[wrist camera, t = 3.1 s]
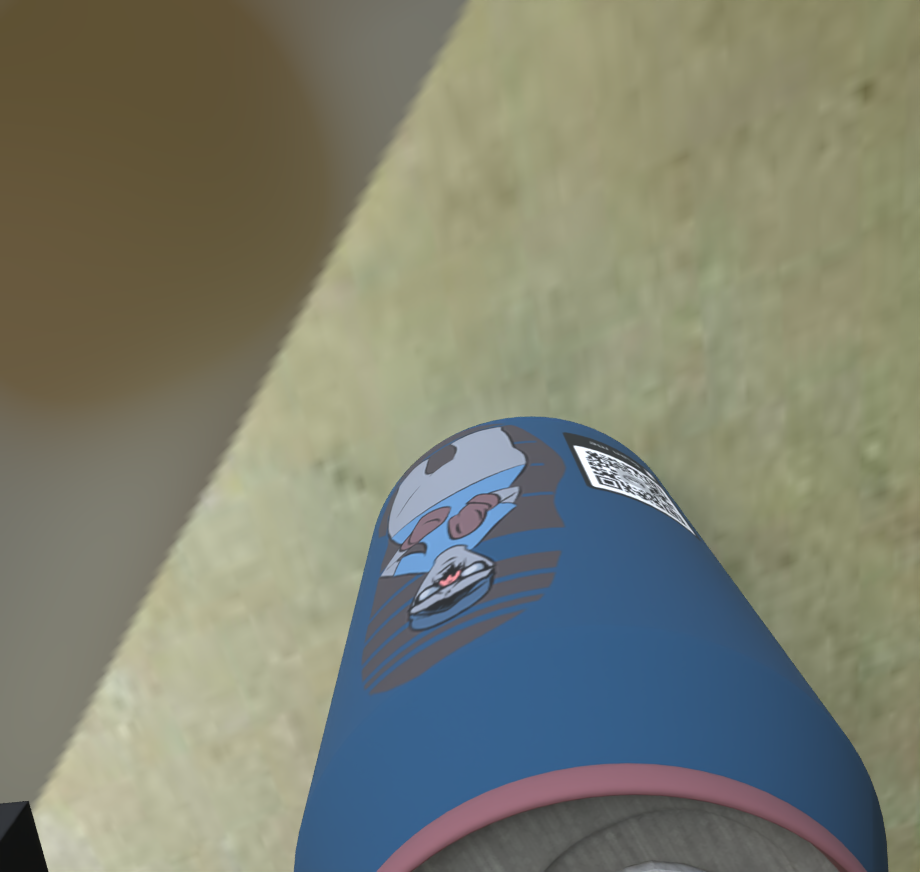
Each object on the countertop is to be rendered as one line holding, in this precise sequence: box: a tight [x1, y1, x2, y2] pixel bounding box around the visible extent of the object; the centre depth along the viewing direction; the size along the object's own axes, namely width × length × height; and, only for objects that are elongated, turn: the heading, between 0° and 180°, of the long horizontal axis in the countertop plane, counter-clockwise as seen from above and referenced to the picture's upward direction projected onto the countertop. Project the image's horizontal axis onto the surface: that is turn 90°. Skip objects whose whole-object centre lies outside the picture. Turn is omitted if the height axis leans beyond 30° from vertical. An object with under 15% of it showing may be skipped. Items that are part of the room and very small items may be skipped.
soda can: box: [294, 417, 888, 872], centre depth 14 cm, size 7×7×12 cm
